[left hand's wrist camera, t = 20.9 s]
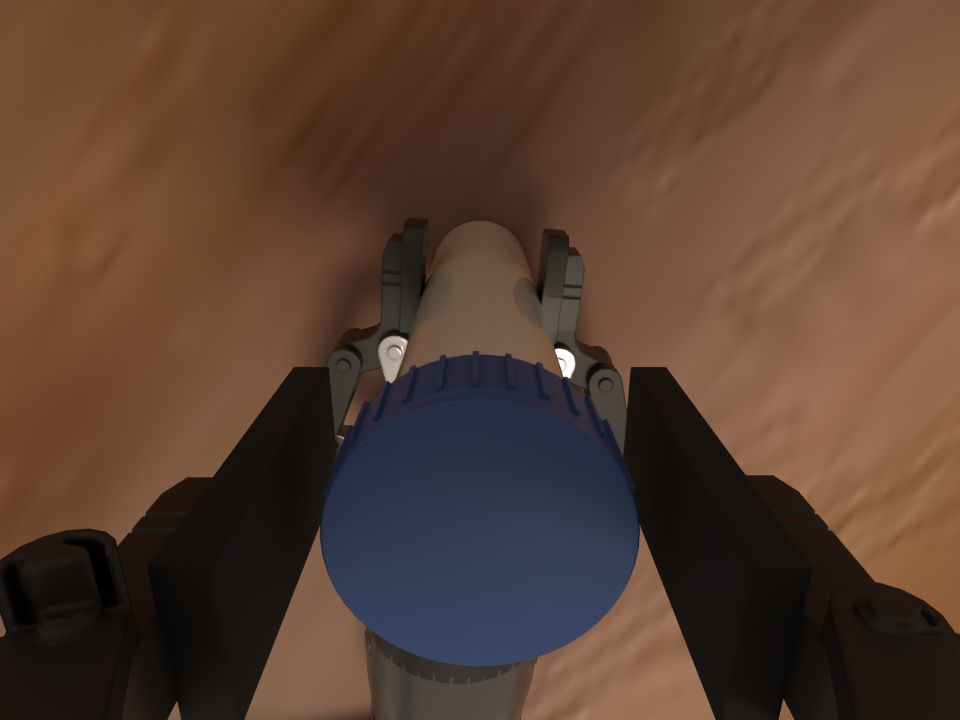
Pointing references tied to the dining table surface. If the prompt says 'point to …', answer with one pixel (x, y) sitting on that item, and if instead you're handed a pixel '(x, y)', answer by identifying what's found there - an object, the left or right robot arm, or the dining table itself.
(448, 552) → the lid
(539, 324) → the cream plastic cylinder
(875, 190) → the dining table surface
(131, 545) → the left robot arm
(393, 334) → the right robot arm
